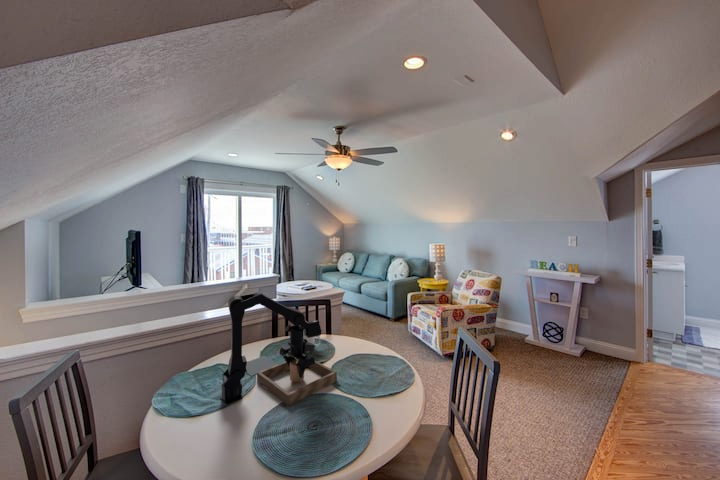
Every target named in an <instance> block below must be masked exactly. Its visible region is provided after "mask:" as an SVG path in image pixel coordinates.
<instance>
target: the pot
mask: <svg viewBox="0 0 720 480" xmlns="http://www.w3.org/2000/svg"><path fill="white" fill-rule="evenodd" d="M298 360H299V359H296V360H292V361H291V362H290V370H289V380H290V381H291V382H293V383H294V382H295V383H297V382H302V381H303V380H304V379H305V373H304V374H303V377H302V378H300V376H299V373H298V370H297V367H296V364H298Z"/></svg>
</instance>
